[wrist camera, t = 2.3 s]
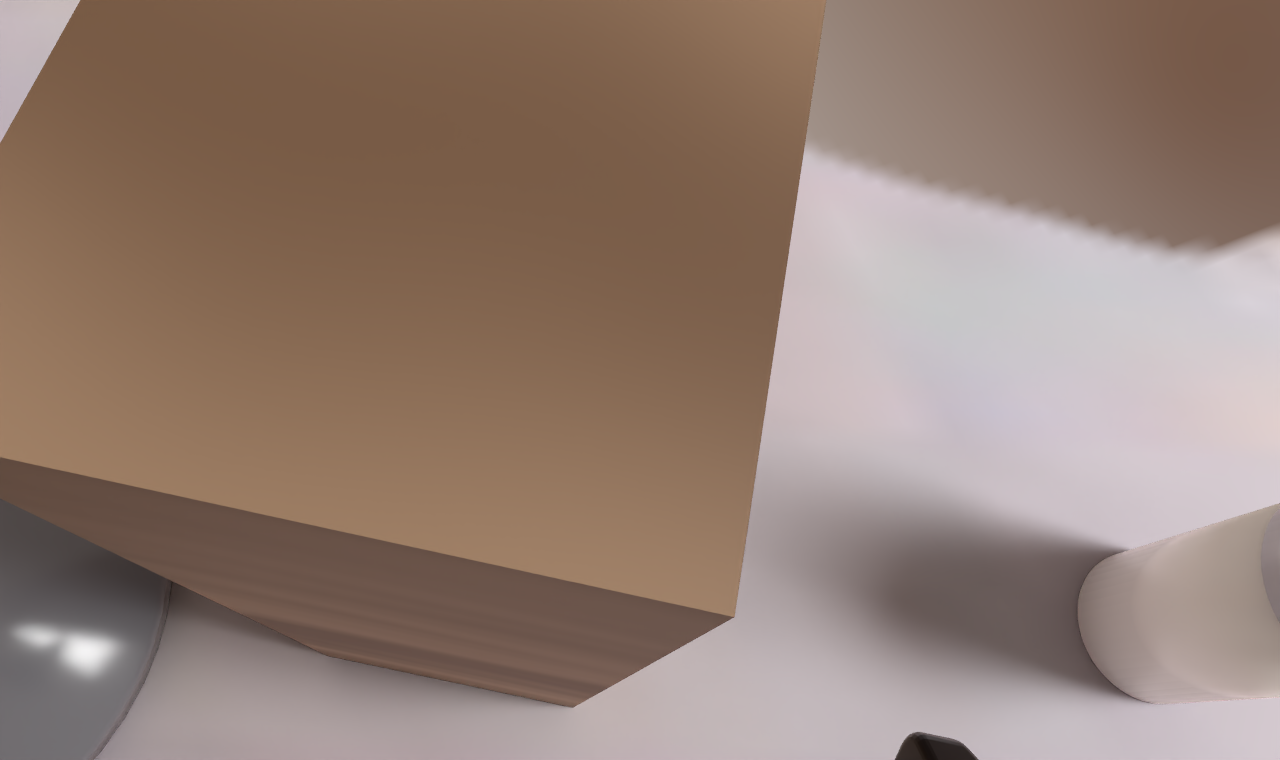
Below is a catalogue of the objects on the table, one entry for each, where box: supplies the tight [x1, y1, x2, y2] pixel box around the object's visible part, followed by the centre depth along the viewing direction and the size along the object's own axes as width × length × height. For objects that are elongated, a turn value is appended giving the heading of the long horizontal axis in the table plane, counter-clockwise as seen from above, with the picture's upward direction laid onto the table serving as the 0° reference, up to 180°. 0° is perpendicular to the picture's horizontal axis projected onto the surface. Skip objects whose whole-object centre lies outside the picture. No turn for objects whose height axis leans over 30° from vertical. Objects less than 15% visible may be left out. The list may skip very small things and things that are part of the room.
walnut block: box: [0, 0, 826, 707], centre depth 12 cm, size 4×4×13 cm
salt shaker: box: [1077, 503, 1280, 704], centre depth 16 cm, size 3×3×6 cm
